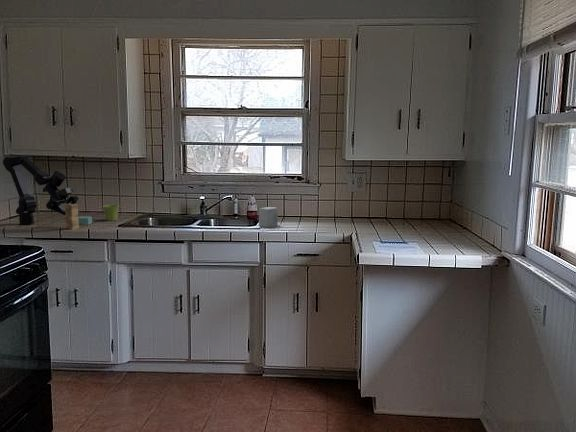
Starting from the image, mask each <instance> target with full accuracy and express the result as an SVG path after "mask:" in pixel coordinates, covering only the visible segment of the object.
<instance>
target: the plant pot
mask: <svg viewBox="0 0 576 432" xmlns="http://www.w3.org/2000/svg"><path fill="white" fill-rule="evenodd" d="M119 207H120V205H118V204H108V205H107V204H106V205H102V208H103V211H104V215H105V221H107V222H109V221H110V222H112V221H115V220H116V221H118V214H119V213H118V212H119Z"/></svg>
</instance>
